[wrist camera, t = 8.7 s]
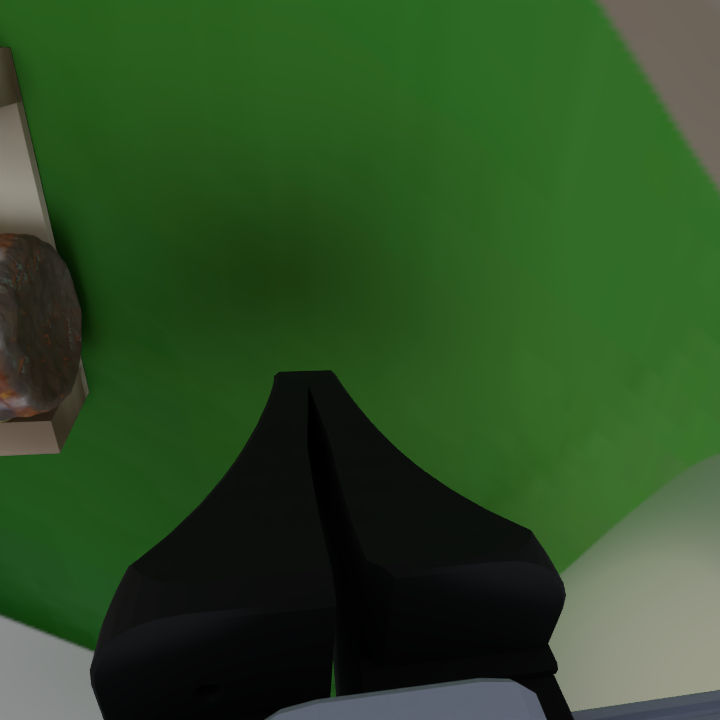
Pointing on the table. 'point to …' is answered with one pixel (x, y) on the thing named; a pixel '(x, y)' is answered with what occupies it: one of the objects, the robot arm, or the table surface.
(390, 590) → the robot arm
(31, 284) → the sauce bottle
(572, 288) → the table surface
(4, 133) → the u rest
